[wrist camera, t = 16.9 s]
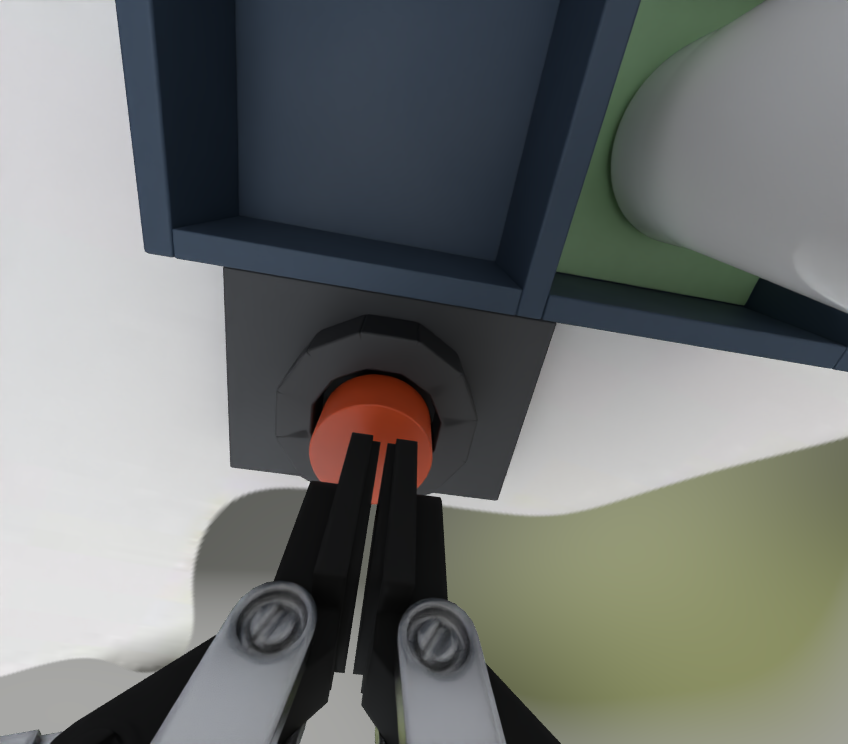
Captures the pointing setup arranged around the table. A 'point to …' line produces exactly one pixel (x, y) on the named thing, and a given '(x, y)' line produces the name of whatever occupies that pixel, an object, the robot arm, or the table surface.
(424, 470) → the button
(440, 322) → the control block
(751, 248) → the drinking glass
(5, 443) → the table surface
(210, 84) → the divided tray
